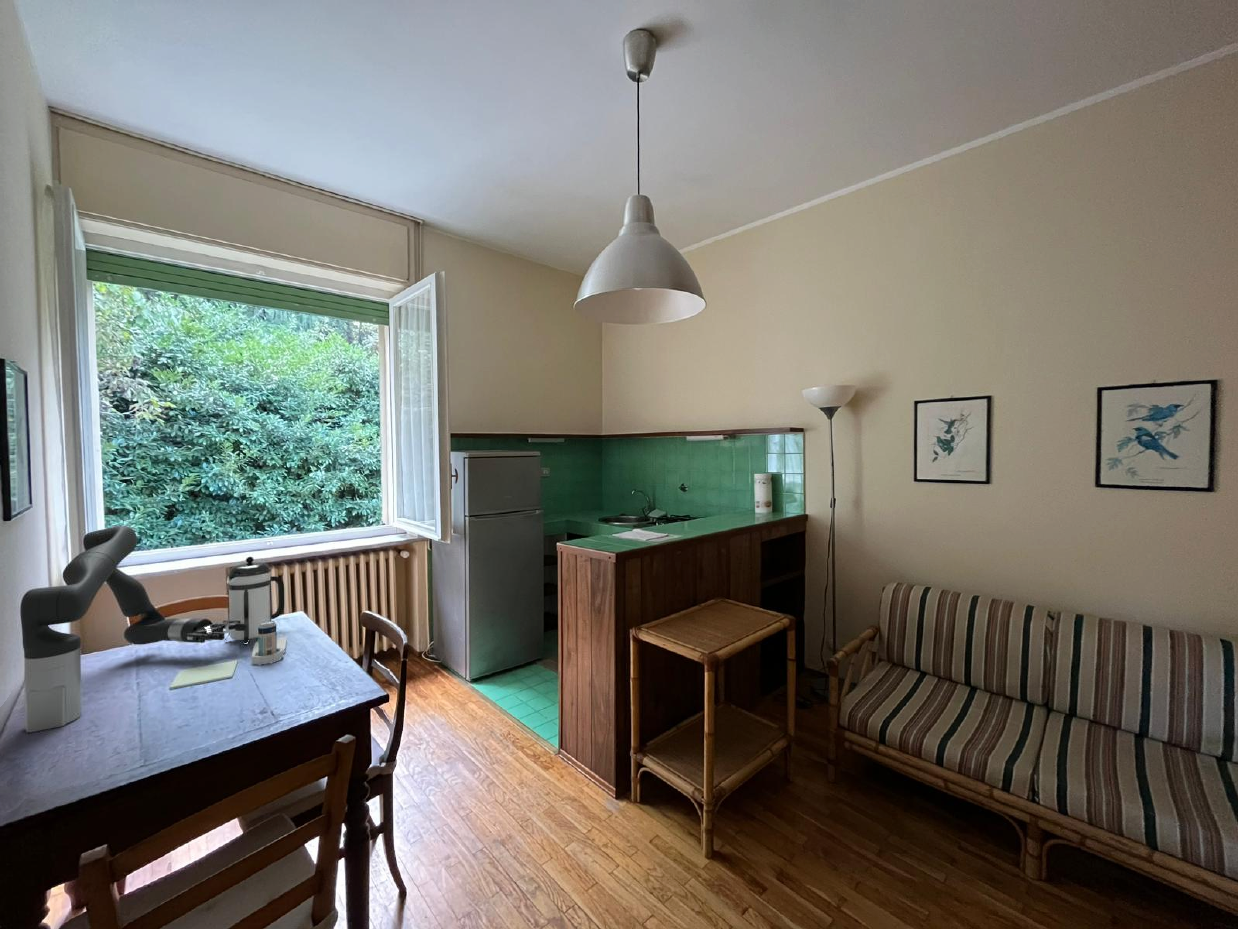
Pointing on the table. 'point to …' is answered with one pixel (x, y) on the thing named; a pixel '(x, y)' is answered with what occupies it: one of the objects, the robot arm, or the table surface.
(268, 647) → the beer can
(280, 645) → the charging dock
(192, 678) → the sage mat
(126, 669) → the table surface
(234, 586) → the coffee press
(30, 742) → the table surface
